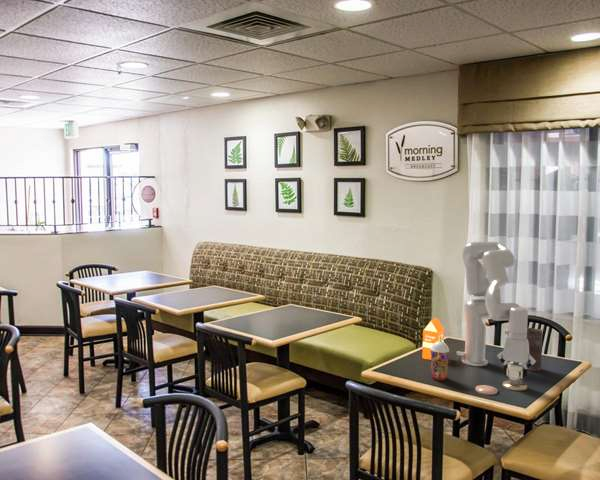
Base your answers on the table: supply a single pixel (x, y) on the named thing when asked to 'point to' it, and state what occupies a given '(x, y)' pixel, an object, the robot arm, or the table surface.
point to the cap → (514, 369)
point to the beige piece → (515, 384)
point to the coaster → (486, 389)
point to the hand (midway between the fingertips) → (515, 375)
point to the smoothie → (439, 360)
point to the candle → (535, 347)
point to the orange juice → (431, 336)
